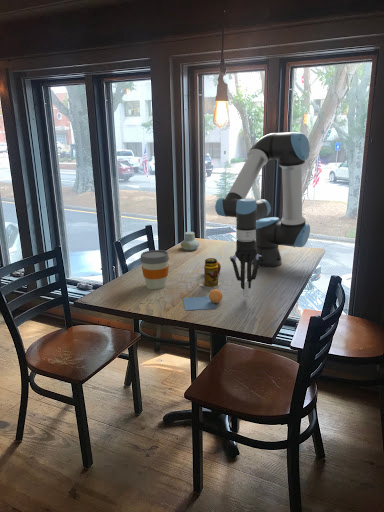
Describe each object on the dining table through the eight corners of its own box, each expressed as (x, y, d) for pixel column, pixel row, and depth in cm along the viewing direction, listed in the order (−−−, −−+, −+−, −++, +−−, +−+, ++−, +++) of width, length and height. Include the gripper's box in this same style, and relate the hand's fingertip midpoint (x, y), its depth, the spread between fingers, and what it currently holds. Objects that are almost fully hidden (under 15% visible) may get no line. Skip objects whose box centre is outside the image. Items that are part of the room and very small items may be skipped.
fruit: (223, 274, 188) (214, 260, 186) (209, 282, 190) (200, 268, 189) (225, 269, 195) (217, 255, 194) (212, 276, 198) (203, 263, 197)
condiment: (214, 288, 175) (214, 262, 172) (197, 285, 179) (197, 260, 176) (221, 283, 181) (221, 258, 178) (205, 280, 185) (204, 255, 182)
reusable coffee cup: (137, 285, 182) (134, 253, 178) (159, 278, 190) (157, 248, 185) (152, 293, 173) (150, 259, 169) (175, 285, 181) (174, 253, 176)
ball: (210, 301, 164) (223, 297, 164) (211, 306, 159) (225, 302, 158) (206, 289, 162) (219, 285, 162) (207, 294, 157) (220, 290, 157)
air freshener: (178, 249, 236) (177, 233, 233) (186, 246, 243) (186, 230, 240) (193, 252, 230) (193, 235, 227) (201, 248, 236) (201, 232, 234)
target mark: (211, 296, 167) (211, 296, 167) (216, 308, 156) (216, 308, 155) (183, 298, 166) (183, 298, 166) (185, 310, 155) (185, 310, 155)
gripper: (231, 242, 151) (231, 300, 158) (265, 240, 152) (264, 298, 159) (227, 237, 158) (228, 293, 165) (260, 236, 159) (259, 291, 166)
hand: (245, 295), depth 162 cm, fingers closed
